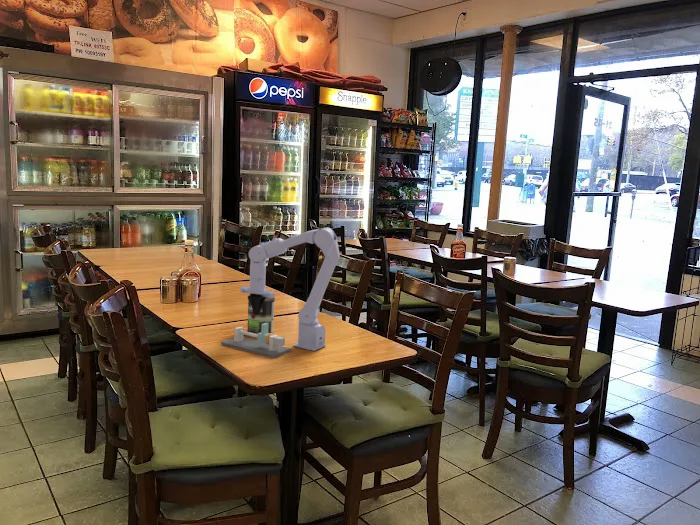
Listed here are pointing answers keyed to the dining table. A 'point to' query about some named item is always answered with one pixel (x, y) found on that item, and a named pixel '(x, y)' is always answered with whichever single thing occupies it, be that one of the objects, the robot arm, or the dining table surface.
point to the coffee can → (261, 317)
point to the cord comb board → (257, 343)
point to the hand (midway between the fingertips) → (256, 314)
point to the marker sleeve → (263, 333)
